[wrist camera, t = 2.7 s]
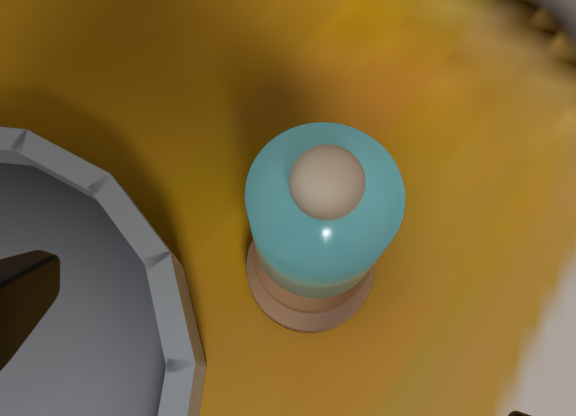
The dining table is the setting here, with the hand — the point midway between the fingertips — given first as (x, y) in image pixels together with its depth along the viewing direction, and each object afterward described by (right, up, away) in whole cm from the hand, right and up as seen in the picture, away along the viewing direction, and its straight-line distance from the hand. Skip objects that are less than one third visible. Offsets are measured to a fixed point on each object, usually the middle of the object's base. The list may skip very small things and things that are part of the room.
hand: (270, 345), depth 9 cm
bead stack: (+1, 0, +12) cm, 12 cm away
